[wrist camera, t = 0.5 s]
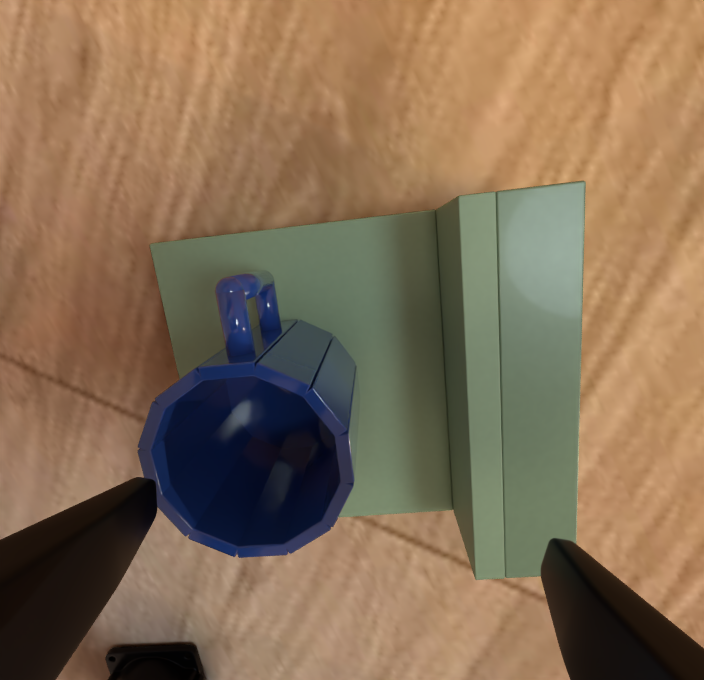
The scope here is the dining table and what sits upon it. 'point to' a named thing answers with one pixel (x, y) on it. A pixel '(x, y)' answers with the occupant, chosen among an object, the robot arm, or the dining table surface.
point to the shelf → (432, 353)
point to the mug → (256, 431)
